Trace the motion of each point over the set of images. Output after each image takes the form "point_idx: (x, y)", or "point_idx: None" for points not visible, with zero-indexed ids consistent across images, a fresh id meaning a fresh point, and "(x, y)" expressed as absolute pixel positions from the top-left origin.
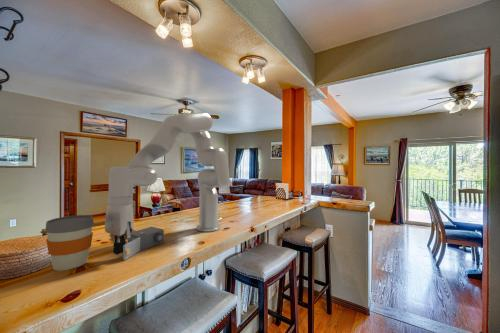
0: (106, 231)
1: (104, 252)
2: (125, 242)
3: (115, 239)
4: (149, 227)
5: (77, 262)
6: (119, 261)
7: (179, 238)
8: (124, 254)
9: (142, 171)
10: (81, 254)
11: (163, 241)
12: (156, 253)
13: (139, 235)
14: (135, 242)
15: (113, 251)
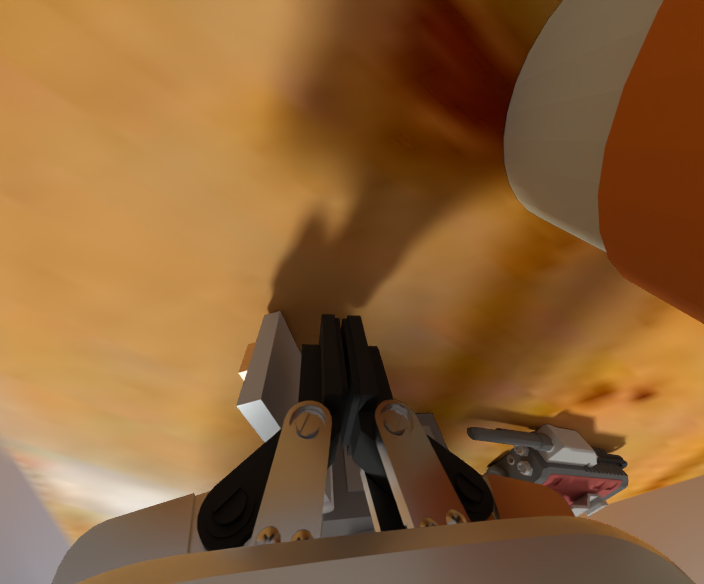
0: (602, 552)
1: (504, 329)
2: (470, 432)
3: (377, 437)
4: None
5: (545, 70)
6: (289, 290)
7: None
8: (263, 339)
9: None
10: (590, 97)
11: None
12: (202, 431)
13: (352, 523)
14: None
15: (360, 324)
